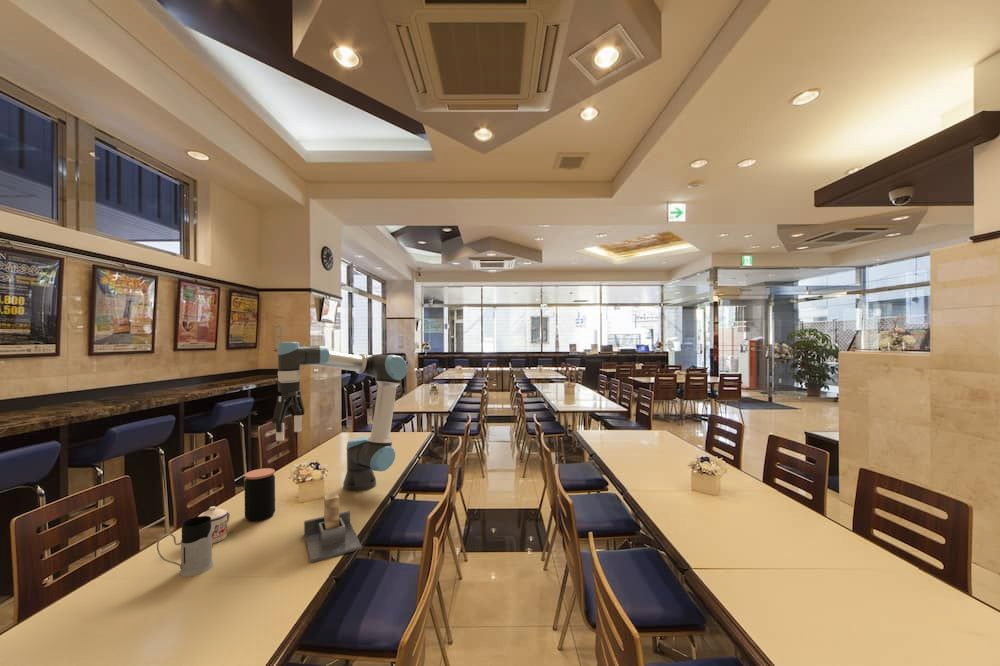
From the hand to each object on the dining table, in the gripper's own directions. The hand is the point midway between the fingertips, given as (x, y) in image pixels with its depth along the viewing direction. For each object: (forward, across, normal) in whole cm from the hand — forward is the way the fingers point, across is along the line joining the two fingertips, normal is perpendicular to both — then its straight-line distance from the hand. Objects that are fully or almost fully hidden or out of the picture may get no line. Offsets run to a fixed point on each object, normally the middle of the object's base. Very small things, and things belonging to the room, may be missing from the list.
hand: (289, 436), depth 158 cm
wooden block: (+34, +13, +21) cm, 42 cm away
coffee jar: (+35, -8, -16) cm, 39 cm away
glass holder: (+35, +31, -17) cm, 49 cm away
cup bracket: (+35, +13, +21) cm, 43 cm away
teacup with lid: (+35, +8, -23) cm, 43 cm away
